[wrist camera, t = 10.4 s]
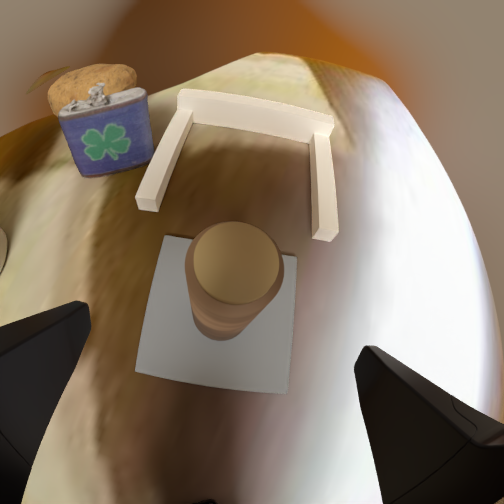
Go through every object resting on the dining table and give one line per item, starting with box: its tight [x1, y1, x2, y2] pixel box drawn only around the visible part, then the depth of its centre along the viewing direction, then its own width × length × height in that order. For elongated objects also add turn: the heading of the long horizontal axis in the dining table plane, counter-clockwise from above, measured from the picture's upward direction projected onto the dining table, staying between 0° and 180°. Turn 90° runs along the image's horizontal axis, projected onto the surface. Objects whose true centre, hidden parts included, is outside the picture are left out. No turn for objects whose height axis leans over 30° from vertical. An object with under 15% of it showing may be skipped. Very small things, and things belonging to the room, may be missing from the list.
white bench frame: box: [135, 88, 339, 242], centre depth 27 cm, size 16×19×4 cm
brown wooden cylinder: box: [185, 221, 284, 341], centre depth 16 cm, size 4×4×11 cm
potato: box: [48, 64, 137, 117], centre depth 26 cm, size 10×14×8 cm
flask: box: [58, 83, 155, 178], centre depth 22 cm, size 9×3×11 cm, turn 105°
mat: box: [135, 235, 297, 394], centre depth 21 cm, size 12×12×1 cm
